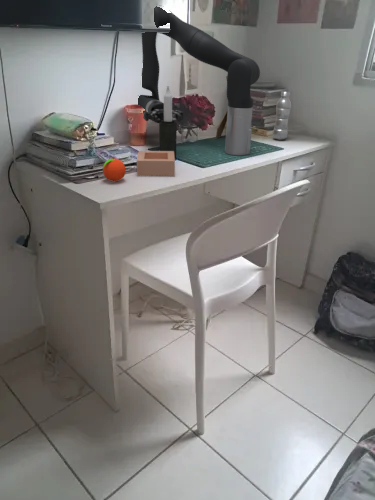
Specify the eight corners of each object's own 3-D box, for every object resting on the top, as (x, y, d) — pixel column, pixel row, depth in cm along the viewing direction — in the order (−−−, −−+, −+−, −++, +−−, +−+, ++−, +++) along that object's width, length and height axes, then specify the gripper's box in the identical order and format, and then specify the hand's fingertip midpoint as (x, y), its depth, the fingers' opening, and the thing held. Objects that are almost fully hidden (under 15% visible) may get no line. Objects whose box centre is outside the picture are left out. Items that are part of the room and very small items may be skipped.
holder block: (173, 165, 140) (173, 151, 137) (174, 176, 129) (174, 161, 127) (139, 165, 139) (138, 150, 137) (137, 176, 128) (136, 160, 126)
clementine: (112, 187, 119) (110, 163, 116) (96, 181, 123) (94, 159, 119) (130, 180, 125) (129, 157, 121) (115, 175, 128) (113, 153, 125)
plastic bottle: (288, 139, 179) (295, 91, 170) (283, 142, 174) (290, 93, 165) (275, 137, 182) (281, 90, 173) (269, 139, 177) (275, 91, 168)
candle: (169, 160, 144) (170, 86, 132) (158, 158, 147) (157, 85, 135) (177, 157, 148) (178, 85, 136) (166, 155, 151) (166, 84, 139)
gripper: (138, 101, 150) (148, 108, 137) (174, 100, 154) (187, 107, 141) (139, 121, 154) (148, 130, 140) (174, 120, 158) (187, 129, 144)
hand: (168, 119), depth 141 cm, fingers open, 8 cm apart
